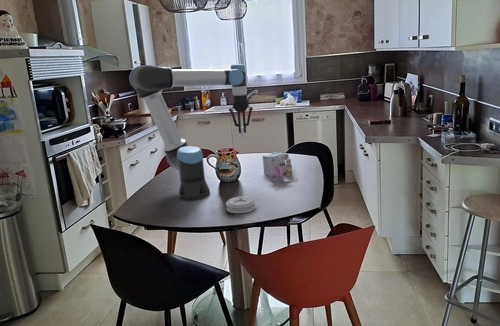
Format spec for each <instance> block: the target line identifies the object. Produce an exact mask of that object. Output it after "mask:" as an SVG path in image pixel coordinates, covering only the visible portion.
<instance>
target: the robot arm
mask: <svg viewBox="0 0 500 326" xmlns="http://www.w3.org/2000/svg"><path fill="white" fill-rule="evenodd" d="M246 70H247V69H246V65H245V64H243V63H239V64H231V65H230V68H227V69H226V68H225V69H223V68H222V69H218V68H217V69H216V68H215V69H212V68H211V69H209V68H208V69H207V68H205V69H203V68H201V69H194V68H193V69H191V68H190V69H187V68H186V69H185V68H183V69H178V68H177V69H173V68H171V67H170V66H157V65H150V64H149V65H147V64H145V65H144V64H143V65H138V66H136V67H134V68H133V69H132V70H131V71H130V74H129V77H128V78H129V79H128V80H129V83H130V84H129V85H130V86H131V87H132V88H133V89H134V90H135V92H136V94H137V96H138V98H139V99H140V100H142V101H144V103H145V105H146V108H147V109H148V111H149V114H150V116H151V118H152V121H153V123H154V124H155V126H156V129H157V131H158V133H159V135H160V137H161V139H162V141H163V144H164V147H163V151H164V153H165V159H166V162H167V164H168V165H169V166H170V167H171V168H173V169H175V170H178V171H179V179H180V183H179V188H178V193H177V194H178V195H177V196H178V199H179V200H181V201H185V202H187V201H189V202H193V201H199V200H203V199H206V198H208V197H210V195H211V191H210V187H209V186H208V183H207V180H206V178H205V177H206V176H205V168H204V167H205V165H204V155H203V151H202V149H201V148H199V147H198V146H193V145H189V144H188V143H187V140H186V139H184V138H182V137H181V135H180V131H179V130H178V128H177V126H176V123H175V121H174V119H173V117H172V114H171V113H170V111H169V108H168V106H167V103H166V102H165V99H164V97H163V94H162V92H163V90H171V89H173V88H174V87H205V86H206V87H207V86H212V87H213V86H231V87H232V101H233V103H232V106H231V107H230V108H229V109H228V111H229V113H230V114H231V117H232V121H233V123H234V126H235V127H237V128H238V133H239V134H240V136H241V140H245V134H247V127H248V126H249V125H250V119H251V116H252V115H251V114H252V111H253V109H254V107H253V106H250V104H249V101H248V94H247V93H248V88H247V87H248V86H247V71H246ZM247 110H248V114H247V119H246V111H247ZM234 111H235V112H236V113H237V119H236V115H235V113H234ZM241 113H242V122H241ZM246 120H247V121H246ZM242 124H243V126H242Z"/></svg>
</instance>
